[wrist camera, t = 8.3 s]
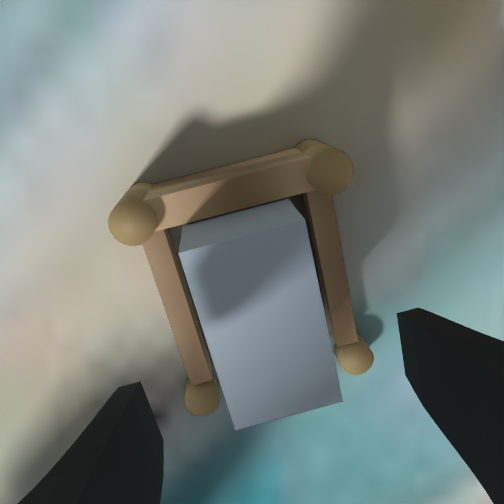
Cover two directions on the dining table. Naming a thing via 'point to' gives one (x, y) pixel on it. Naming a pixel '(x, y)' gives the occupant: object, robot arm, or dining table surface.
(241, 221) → the panel block
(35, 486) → the robot arm
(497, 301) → the dining table surface
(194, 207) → the wooden frame
